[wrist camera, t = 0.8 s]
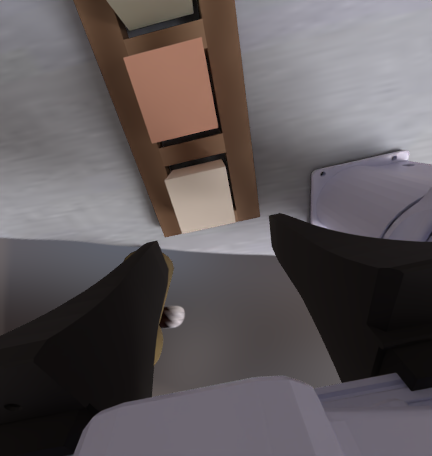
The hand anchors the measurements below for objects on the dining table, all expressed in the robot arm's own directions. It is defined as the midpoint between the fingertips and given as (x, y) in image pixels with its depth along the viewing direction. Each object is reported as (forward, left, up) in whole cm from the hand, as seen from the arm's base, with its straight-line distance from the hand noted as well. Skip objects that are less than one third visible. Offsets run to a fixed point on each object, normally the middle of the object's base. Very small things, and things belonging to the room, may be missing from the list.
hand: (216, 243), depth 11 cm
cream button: (+1, -1, -9) cm, 9 cm away
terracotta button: (+1, -8, -9) cm, 12 cm away
